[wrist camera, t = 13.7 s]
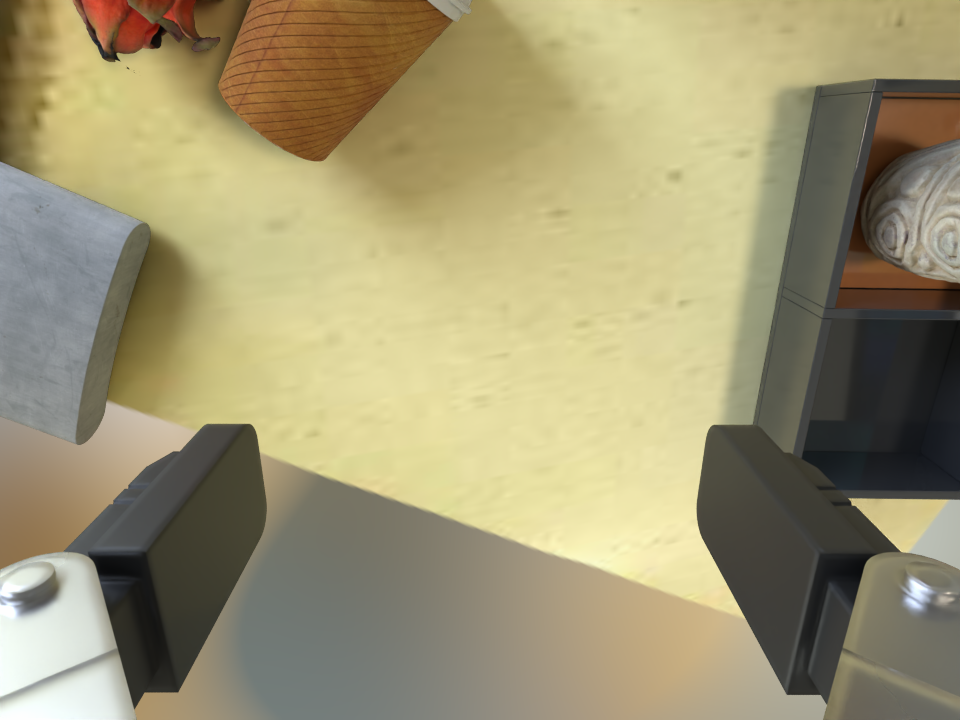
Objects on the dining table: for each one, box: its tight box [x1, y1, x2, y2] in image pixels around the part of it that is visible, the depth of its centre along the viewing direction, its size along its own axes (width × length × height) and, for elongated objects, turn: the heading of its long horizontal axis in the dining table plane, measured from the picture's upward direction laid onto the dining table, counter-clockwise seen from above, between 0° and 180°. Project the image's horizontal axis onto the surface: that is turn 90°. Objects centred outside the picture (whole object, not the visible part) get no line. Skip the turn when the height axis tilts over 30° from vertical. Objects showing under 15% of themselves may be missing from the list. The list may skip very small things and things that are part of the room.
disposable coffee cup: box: [218, 0, 472, 161], centre depth 31 cm, size 10×10×12 cm
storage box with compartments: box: [753, 79, 960, 500], centre depth 37 cm, size 24×12×6 cm, turn 179°
